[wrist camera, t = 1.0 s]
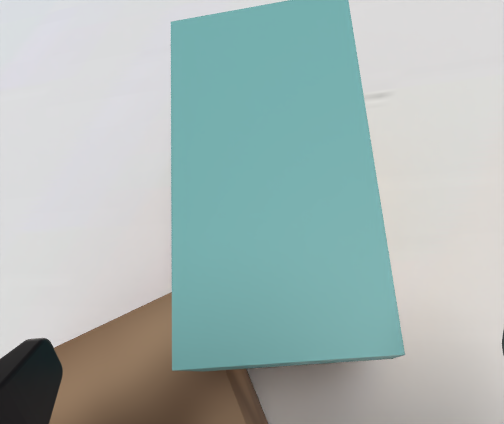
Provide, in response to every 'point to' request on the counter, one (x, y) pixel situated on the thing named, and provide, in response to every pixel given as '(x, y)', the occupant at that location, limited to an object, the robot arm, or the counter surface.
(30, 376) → the robot arm
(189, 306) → the lid
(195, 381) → the walnut block
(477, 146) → the counter surface
